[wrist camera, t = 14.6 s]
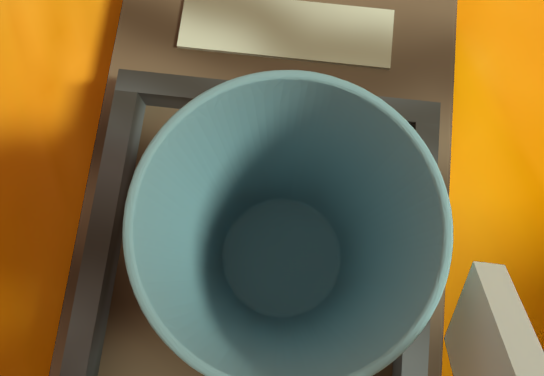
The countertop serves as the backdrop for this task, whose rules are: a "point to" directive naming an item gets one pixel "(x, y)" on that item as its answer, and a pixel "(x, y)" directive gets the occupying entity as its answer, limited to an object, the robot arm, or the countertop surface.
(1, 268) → the countertop surface
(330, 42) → the dock
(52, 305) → the countertop surface
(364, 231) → the cup
